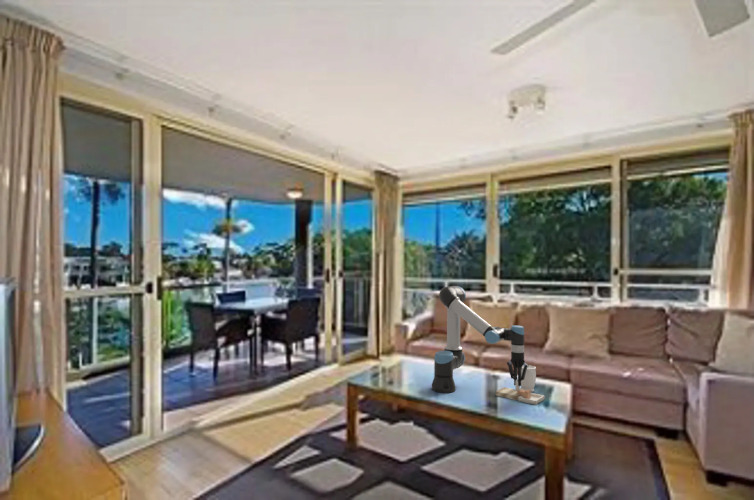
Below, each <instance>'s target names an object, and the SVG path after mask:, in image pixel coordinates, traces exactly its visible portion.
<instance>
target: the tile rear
mask: <svg viewBox="0 0 754 500" xmlns="http://www.w3.org/2000/svg"><path fill="white" fill-rule="evenodd" d="M517 394H520V395H524V396H525V390H521V389H520V390H518V391H517Z"/></svg>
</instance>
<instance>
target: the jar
mask: <svg viewBox="0 0 754 500" xmlns="http://www.w3.org/2000/svg"><path fill="white" fill-rule="evenodd" d="M528 365H529V364H528ZM523 368H524V365H523V366H522V369H521V376H522V372H523ZM536 370H537V368H536V366H535V365H529V366H528V368H527V370H526V374H525V378H524V380H521V386H520V389H521V390H525V391H526V390H531V393H534V392H535V389H534V388H535V385H536V382H537V372H536Z"/></svg>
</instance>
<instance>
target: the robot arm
mask: <svg viewBox="0 0 754 500" xmlns="http://www.w3.org/2000/svg"><path fill="white" fill-rule="evenodd" d="M466 296H467V295H466V292H465V289H464V288H463V287H461V286H458V285H451V286H444V287H443V288H441V289H440V291H439V295H438V297H439V301H440V302H441V304H442V305H444V306H445V308H446V309H447V312H446V313H447V314H446V320H447V321H446V345H445V346H444V350H438V351H436V352H435V353H434V359H433V360H434V364H433V365H434V367H433V368H434V369H433V370H434V373H433V374H434V377H433V380H432V383H431V387H430V389H431V390H432V391H433V392H438V393H443V394H448V393H454V392H455V391H456V388H457V387H456V384H455V380H454V370H456V369H458V368H460V367H462V366H463V365H464V363H465V360H466V356H465V353H464V352H463V347H462V346H461V318H462V319H463V320H464V321H465V322H466V323H468V324H469V325H470V326H471V327H473V329H474V330H476V331H477V332H478V333H480V334H481V336H483V337H484V339H485V341H486V342H487V343H488V344H491V345H492V344H493V345H494V344H497V343H499V342H502V341H507V342H511V343H510V344H511V345H510V351H511V352H510V361H507V362H506V364H507V366H508V370H509V375H510V379H513V384H514V386H515V388H514V389H515V391H516V392H517V391H518V390H520V388H521V380H524V378H525V374H526V370H527V368H528V366H529V364H527V363H526V362H525V328H524V326H522V325H516V324H515V325H511V326H510V327H509V328H507V327H499V326H497V327H496V326H492V325H491V324H489V323H488V322H487V321H486V320H485V319H483V318H482V317H480V316H479V315H478V314H477V313H476V312H475V311H474V310H472V309H471V308H470V307H469V306H467V305H466V304H465V303H464V301H466ZM523 365H524V368H523V372H522V376H521V369H522V366H523Z"/></svg>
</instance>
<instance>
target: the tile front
mask: <svg viewBox="0 0 754 500" xmlns="http://www.w3.org/2000/svg"><path fill="white" fill-rule="evenodd" d="M531 393H532V392H531V390H526V391H525V398H526V399H529V398H531Z"/></svg>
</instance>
